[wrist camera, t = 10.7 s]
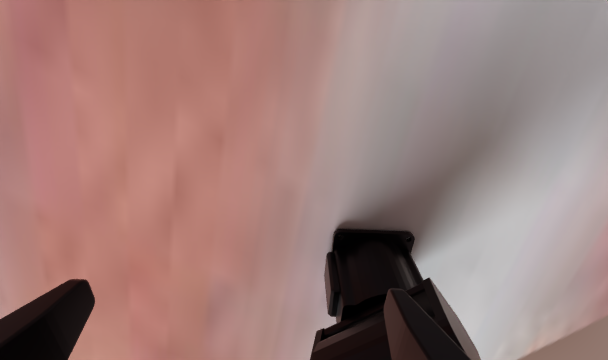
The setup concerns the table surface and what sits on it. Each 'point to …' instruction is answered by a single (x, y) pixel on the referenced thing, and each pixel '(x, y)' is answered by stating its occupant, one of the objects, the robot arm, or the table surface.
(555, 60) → the table surface
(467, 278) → the table surface
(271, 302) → the table surface
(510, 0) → the table surface
